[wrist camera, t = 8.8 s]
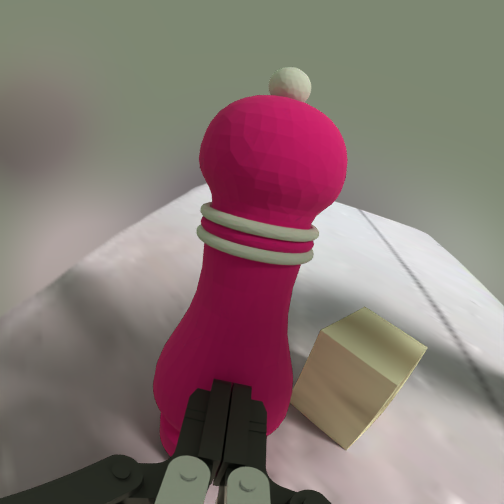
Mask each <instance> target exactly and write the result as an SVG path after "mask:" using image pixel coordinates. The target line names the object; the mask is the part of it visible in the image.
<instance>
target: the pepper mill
mask: <svg viewBox="0 0 504 504" xmlns="http://www.w3.org/2000/svg"><path fill="white" fill-rule="evenodd" d="M269 91H270V94H271V95H257V96H252V97H246V98H243V99H240V100H237V101H235V102H233V103H231V104H229V105H228V106H227V107H225V108H224V109H222V110H221V111H220V112H219V113H218V114H217V115H216V116H215V117H214V119H213V120H212V121H211V123H210V124H209V126H208V128H207V130H206V133H205V136H204V138H203V141H202V143H201V148H200V155H199V162H200V168H201V171H202V174H203V176H204V178H205V180H206V182H207V184H208V186H209V188H210V191H211V193H212V202H209V203H206V204H203V205H202V206H201V213H202V215H203V217H202V219H201V225H199V226H198V227H197V236H198V237H199V239H200V240H202V241H203V242H204V253H203V265H202V270H201V274H200V278H199V282H198V287H197V291H196V293H195V295H194V298H193V300H192V302H191V305H190V307H189V309H188V310H187V312H186V313H185V315H184V317H183V318H182V320H181V321H180V323H179V324H178V326H177V327H176V329H175V330H174V332H173V333H172V335H171V336H170V338H169V339H168V341H167V342H166V344H165V346H164V348H163V350H162V352H161V355H160V357H159V359H158V362H157V365H156V371H155V376H154V382H153V392H154V398H155V400H156V403H157V405H158V408H159V410H160V411H161V417H160V438H161V442H162V444H163V447H164V448H165V450H166V452H167V453H168V454H169V455H170V456H172V455H173V454H174V452H175V449H176V446H177V442H178V438H179V434H180V430H181V427H182V423H183V419H184V415H185V411H186V408H187V404H188V400H189V396H190V395H191V394H192V393H193V392H194V391H195V390H196V389H197V388H200V389H204V390H208V391H211V387H212V383H213V379H214V378H215V379H219V380H224V381H228V382H232V384H233V382H234V383H238V384H243V385H248V386H252V394H251V399H252V400H258V401H262V402H263V404H264V406H265V409H266V411H267V433H266V435H267V436H268V435H270V434H271V433H272V432H273V431H275V430H276V429H277V428H278V427H279V425H280V424H281V422H282V421H283V420H284V418H285V416H286V413H287V411H288V407H289V403H290V400H291V396H292V387H293V372H292V365H291V358H290V351H289V344H288V336H287V330H288V312H289V306H290V301H291V295H292V289H293V286H294V283H295V280H296V277H297V274H298V272H299V269H300V266H301V264H304V263H307V262H309V261H310V260H312V258H313V255H314V253H313V250H312V248H313V246H314V243H313V240H315V239H317V238H318V236H319V231H318V229H317V228H316V227H315V226H313V225H311V223H312V222H313V220H314V219H315V217H316V216H317V215H318V214H319V213H320V212H322V211H323V210H324V209H326V208H327V207H328V206H330V205H331V204H332V203H333V202H334V201H335V200H336V199H337V197H338V195H339V194H340V192H341V189H342V187H343V184H344V181H345V178H346V168H347V153H346V146H345V143H344V140H343V138H342V135H341V133H340V132H339V130H338V128H337V127H336V126H335V125H334V123H333V122H332V121H331V120H330V119H329V118H328V117H327V116H326V115H325V114H323V113H322V112H320V111H319V110H317V109H316V108H313V107H312V106H310V105H308V104H306V103H304V101H306V100H307V98H308V97H309V95H310V92H311V83H310V80H309V78H308V76H307V75H306V74H305V73H304V72H303V71H301V70H299V69H297V68H293V67H286V68H281V69H279V70H278V71H276V72H275V73H274V74H273V75H272V77H271V79H270V81H269ZM231 387H232V386H231Z"/></svg>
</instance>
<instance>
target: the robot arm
mask: <svg viewBox="0 0 504 504" xmlns="http://www.w3.org/2000/svg"><path fill="white" fill-rule="evenodd" d="M231 386H232V387H231ZM251 394H252V386H248V385H243V384H238V383H234V382H233V384H232V382H228V381H224V380H219V379H215V378H214V379H213V383H212V387H211V391H208V390H204V389H200V388H197V389H196V390H195V391H194V392H193V393H192V394H191V395H190V396H189V400H188V404H187V408H186V411H185V415H184V419H183V423H182V427H181V430H180V434H179V438H178V442H177V446H176V449H175V452H174V454H173V455H172V456H171V457H170V458H169V459H168V460H166V461H164V462H161V463H137V462H136V461H135V460H134V459H132V458H131V457H128V456H125V455H112V456H110V457H107V458H105V459H103V460H101V461H99V462H97V463H94V464H92V465H90V466H88V467H85V468H83V469H81V470H78V471H76V472H73V473H71V474H69V475H66V476H64V477H61V478H59V479H56V480H53V481H51V482H48V483H45V484H43V485H40V486H37V487H34V488H32V489H29V490H26V491H23V492H20V493H17V494H13V495H10V496H7V497H4V498H0V504H203V503H204V500H205V496H206V493H207V490H208V488H209V485H211V484H212V481H213V479H214V481H213V485H215V486H219V492H218V497H217V499H216V502H215V504H331V503H330V502H329V501H328V500H327V499H326V498H325V497H324V496H323V495H322V494H321V493H319V492H317V491H314V490H302V491H299V492H295V491H292V490H289V489H287V488H284V487H281V486H279V485H277V484H276V483H274V482H273V481H272V480H271V479H270V478H269V476H268V474H267V472H266V439H267V435H266V433H267V411H266V409H265V406H264V404H263V402H262V401H258V400H252V399H251Z"/></svg>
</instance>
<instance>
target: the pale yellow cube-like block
mask: <svg viewBox="0 0 504 504" xmlns="http://www.w3.org/2000/svg"><path fill="white" fill-rule="evenodd" d="M426 350H427V347H426V346H424V345H423V344H421V343H420V342H418V341H417V340H415V339H414V338H412V337H411V336H409V335H408V334H406V333H404V332H403V331H401V330H400V329H398V328H397V327H395V326H394V325H392V324H391V323H389V322H388V321H386V320H385V319H383V318H381V317H380V316H378V315H377V314H375V313H374V312H372V311H371V310H369V309H368V308H366V307H364V308H362V309H360V310H358V311H356V312H354V313H352V314H351V315H349V316H347V317H345V318H343V319H341V320H339V321H337V322H335V323H333V324H331V325H329V326H327V327H325V328H323V329H321V330H320V333H319V335H318V337H317V339H316V342H315V344H314V346H313V348H312V350H311V353H310V355H309V357H308V359H307V361H306V363H305V366H304V368H303V370H302V372H301V374H300V376H299V378H298V380H297V382H296V384H295V386H294V388H293V390H292V396H291V400H290V403H291V404H292V405H293V406H294V407H295V408H297V409H298V410H299V411H300V412H301V413H302V414H303V415H304V416H306V417H307V418H308V419H309V420H310V421H311V422H313V423H314V424H315V425H316V426H317V427H318V428H320V429H321V430H322V431H323V432H324V433H326V434H327V435H328V436H329V437H330V438H332V439H333V440H334V441H335V442H336V443H338V444H339V445H340V446H341V447H343V448H344V449H345V450H347V449H348V448H349V447H350V446H351V445H352V444H353V443H354V442H355V441H356V440H357V439H358V438H359V437H360V436H361V435H362V434H363V433H364V432H365V431H366V430H367V429H368V428H369V427H370V426H371V425H372V424H373V422H374V421H375V420H376V419H377V418H378V417H379V416H380V415H381V414H382V413H383V411H384V410H385V409H386V408H387V406H388V405H389V404H390V402H391V401H392V400H393V398H394V397H395V396H396V394H397V393H398V392H399V390H400V389H401V387H402V386H403V385H404V383H405V382H406V380H407V379H408V377H409V376H410V374H411V373H412V371H413V370H414V368H415V367H416V365H417V364H418V362H419V361H420V359H421V358H422V356H423V354H424V353H425V351H426Z"/></svg>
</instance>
